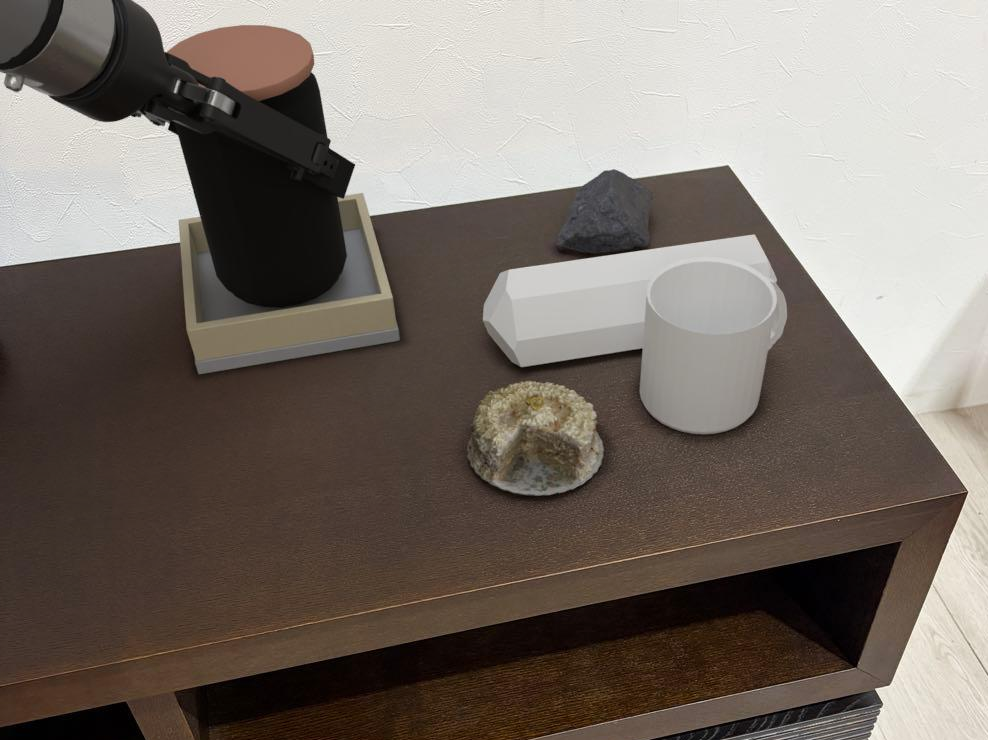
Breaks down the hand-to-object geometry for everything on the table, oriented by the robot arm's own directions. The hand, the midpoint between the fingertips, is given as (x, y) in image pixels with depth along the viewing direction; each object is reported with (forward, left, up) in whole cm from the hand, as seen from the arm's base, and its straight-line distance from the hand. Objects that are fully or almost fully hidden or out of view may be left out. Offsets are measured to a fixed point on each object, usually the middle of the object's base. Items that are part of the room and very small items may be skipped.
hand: (287, 161), depth 86 cm
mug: (+35, +10, -11) cm, 38 cm away
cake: (+29, -4, -11) cm, 31 cm away
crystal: (+25, +12, -11) cm, 30 cm away
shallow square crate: (+1, -3, -11) cm, 12 cm away
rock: (+15, +22, -11) cm, 29 cm away
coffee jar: (+1, -3, -9) cm, 9 cm away
